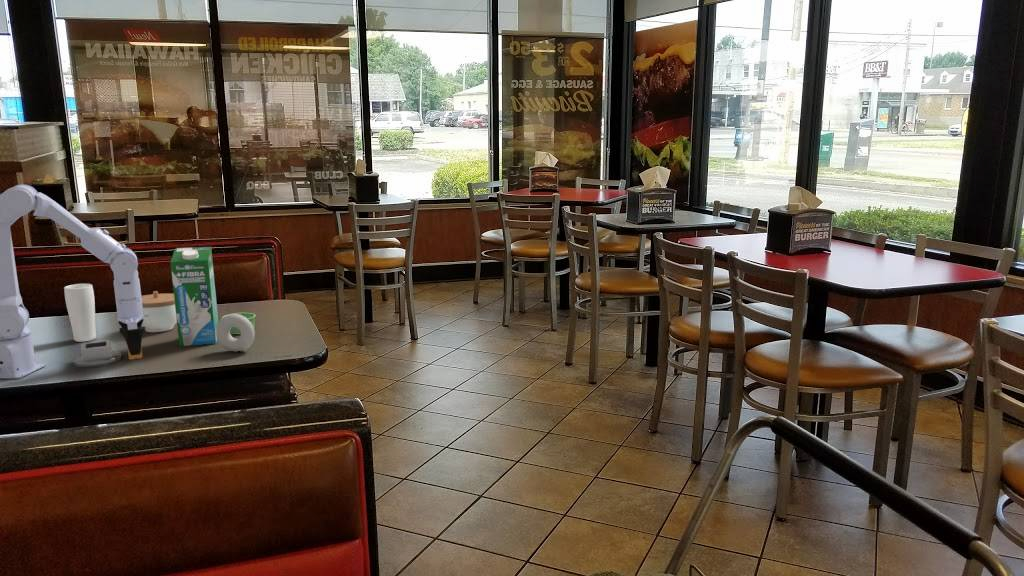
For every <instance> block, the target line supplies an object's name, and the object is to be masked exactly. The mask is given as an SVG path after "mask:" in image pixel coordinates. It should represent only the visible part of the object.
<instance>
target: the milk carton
mask: <svg viewBox="0 0 1024 576" xmlns="http://www.w3.org/2000/svg"><path fill="white" fill-rule="evenodd" d="M212 250H213V249H212V246H201V247H199V246H198V247H195V246H194V247H175V249H174V251H173V254H172V256H171V260H170V268H171V269H170V271H171V281H172V290H173V294H174V300H175V309H176V319H177V323H176V326H177V327H176V328H177V337H178V345H179V347H191V346H190V345H193V346H204V345H203V344H206V345H215V343H216V344H217V342H218V339H217V335H216V327H217V325H218V322H219V317H218V316H219V314H218V305H217V295H216V294H217V293H216V286H215V285H216V284H215V273H214V263H213V253H212Z"/></svg>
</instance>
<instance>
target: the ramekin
mask: <svg viewBox="0 0 1024 576" xmlns="http://www.w3.org/2000/svg"><path fill="white" fill-rule="evenodd" d="M230 314H231V313H229V314H225V315H223V316H222V317H221V319H222V318H223V317H225V316H227V315H230ZM232 314H239V315H242V316H244V317H246V318H247V319H248V320H249V321H250V322H251V324H252V325H253V327H254V328H256V325H255V322H256V320H255V319H256V314H255V313H254V312H253V313H252V312H235V313H232ZM230 333H231V335H233V334H234V333H241V332H240V330H239V329H238V328H237V327H232V328H231V329H230Z"/></svg>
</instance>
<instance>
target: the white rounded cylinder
mask: <svg viewBox="0 0 1024 576" xmlns="http://www.w3.org/2000/svg"><path fill="white" fill-rule="evenodd" d="M63 289H64V290H63V291H64V299H65V304H66V305H65V306H66V310H67V312H68V317H69V321H70V325H71V331H72V335H73V340H74V341H75V342H76V343H77V342H79V343H82V342H83V343H87V342H90V341H91V342H92V341H94V340H96V338H97V331H96V305H95V304H96V303H95V291H94V287H93V284H91V283H75V284H70V285H66V286H64V287H63Z"/></svg>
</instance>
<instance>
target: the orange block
mask: <svg viewBox="0 0 1024 576" xmlns="http://www.w3.org/2000/svg"><path fill="white" fill-rule="evenodd" d="M127 354H128V359H130V360H135V358H137V359H142V358H141V357H143V349H142V347H141V353H140V354H138V355H131V354H130V352H129V349H128V348H127Z"/></svg>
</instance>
